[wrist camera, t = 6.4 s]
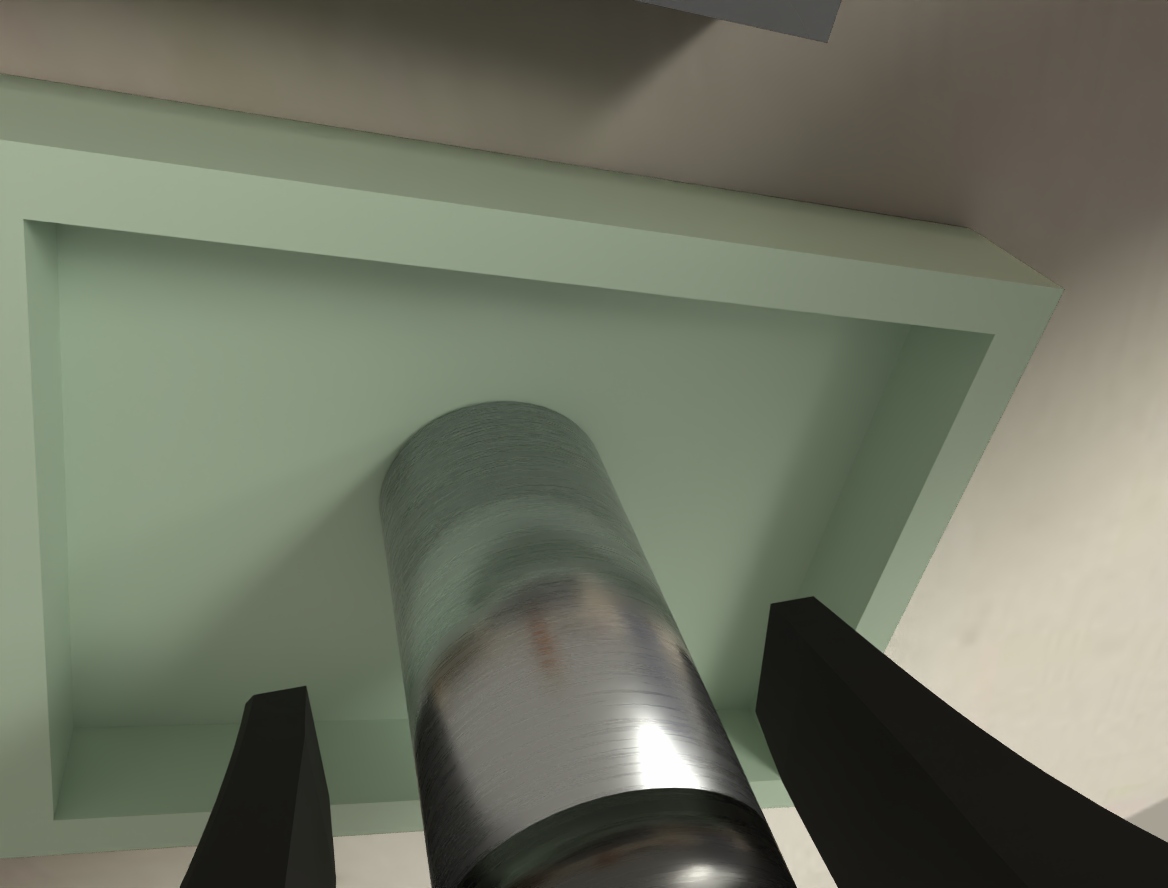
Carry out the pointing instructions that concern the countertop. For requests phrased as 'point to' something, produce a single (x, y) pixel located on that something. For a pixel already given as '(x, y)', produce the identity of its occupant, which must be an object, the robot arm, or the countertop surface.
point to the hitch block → (767, 14)
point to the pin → (552, 674)
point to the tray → (424, 425)
